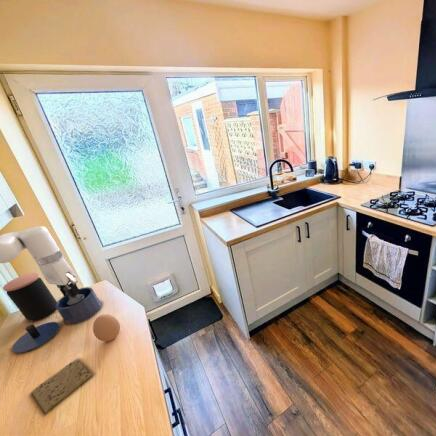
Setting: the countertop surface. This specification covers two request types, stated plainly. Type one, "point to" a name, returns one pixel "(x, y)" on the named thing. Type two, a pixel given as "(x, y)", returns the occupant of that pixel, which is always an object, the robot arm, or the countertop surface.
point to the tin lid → (35, 337)
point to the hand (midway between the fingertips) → (72, 293)
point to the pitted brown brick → (60, 385)
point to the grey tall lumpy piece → (73, 298)
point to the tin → (79, 307)
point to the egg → (106, 327)
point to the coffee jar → (31, 296)
